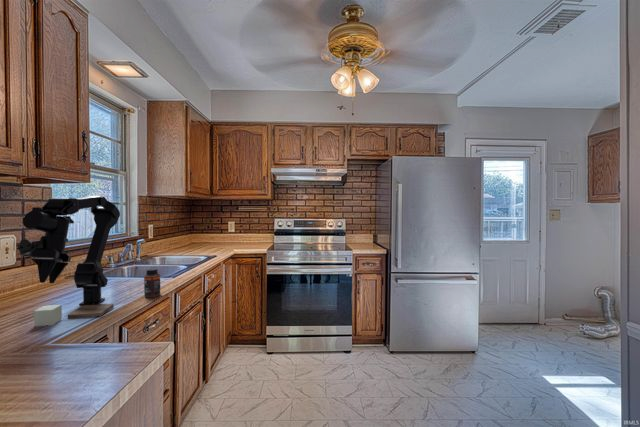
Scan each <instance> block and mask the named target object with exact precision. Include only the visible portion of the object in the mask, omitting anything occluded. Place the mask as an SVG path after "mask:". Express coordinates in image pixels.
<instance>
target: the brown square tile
mask: <svg viewBox="0 0 640 427" xmlns="http://www.w3.org/2000/svg"><path fill="white" fill-rule="evenodd" d="M112 307H113V308H115V306H114V303H103V304H102V303H99V304H92V305H80V307H78V308H76V309H75V310H73V311H72V312H70V313H68V314H67V319H79V318H78V317H84V318H93V317H92V316H101V317H102V315H103V314H104V313H105V314H107V313H108V312H109V311H110V310H112V309H113V308H112ZM111 308H112V309H111ZM109 309H110V310H109ZM108 310H109V311H108ZM107 311H108V312H107ZM105 314H104V315H105ZM104 315H103V316H104Z"/></svg>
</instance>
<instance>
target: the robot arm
mask: <svg viewBox="0 0 640 427" xmlns="http://www.w3.org/2000/svg"><path fill="white" fill-rule="evenodd" d="M47 200H48V201H47V202H46V203H45V204H44V205H43V206H41V207H36V206H35V207H33V206H32V208H31V210H30V211H28V212H27V213H26V214H24V217H23V218H22V225H23V227H25V229H29V230H33V231H34V230H35V231H39V232H44V235H42V236H41V237H40V239H39V240H38V241H31V240H29V239H27V238H25V239H22V240H20V242H19V244H18V245H17V247H16V249H17V251H18V252H19V255H20V256H23V257H29V258H30V260H31V261H32V262H34V263H35V264H36V266H37V271H38V279H39V280H38V281H39V283H41V284H43V283H44V284H45V282H47V279H48V280H49V284H54V283H55V282H56V280H57V279H58V278H59V277H60V275H61V274H62V273H63V271H64V270H65V268H67V266H68V265H69V263H71V259H72V256H71V255H70V254H68V253H67V250H65V249H66V244H67V243H69V238H68V233H69V228H70V224H74V223H75V221H74V219H72V217H71V216H69V215H74V214H77V213H78V212H79V211H80V210H83V209H90V213H91V214H92V215H93V221H94V223H95V229H94V232H93V235H92V238H91V242H90V245H89V248H88V250H87V253H86V258H85V260H84V261H83V262H78V263H77V265H76V268H75V271H74V273H73V274H74V276H73V280H74V283H75V284H74V285H75V287H76V289H82V301H81V302H80V303H78V305H79V306H83V305H98V304H101V303H102V302H104V301H105V300H106V298H105V297H102V288H105V287H107V285H108V278H107V277H106V276H105V275H104V268H103V266H102V263H101V262H102V258H103V256H104V253H105V248H106V245H107V242H108V239H109V236H110V231H111V229H113V227H114V226H115V225H117V224H118V221H119V219H120V217H121V212H120V210H119V208H118V207H117V205H115V204H114V203H112V201H111V202H110V201H109V200H108V199H107V198H106V197H105V196H103V195H91V196H87V197H78V198H75V197H50V198H49V199H47Z"/></svg>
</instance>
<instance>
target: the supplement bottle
mask: <svg viewBox="0 0 640 427" xmlns="http://www.w3.org/2000/svg"><path fill="white" fill-rule="evenodd" d="M143 282H144V284H143V288H144V290H143V291H144V293H143V294H144V297H145V298H146V299H147V298H149V299H151V298H156V297H159V296H160V295H161V274H160V273H159V272H158V268H156V267H155V268H153V267H151V268H147V269H146V274H145V275H144V276H143Z"/></svg>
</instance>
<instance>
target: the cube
mask: <svg viewBox="0 0 640 427" xmlns="http://www.w3.org/2000/svg"><path fill="white" fill-rule="evenodd" d="M62 305H63V304H54V305H43V306H40V307H39V308H36V309H35V310H33V320H34V321H33V322H34V324H33V325H34V327H44V326H46V325H48V326H54V325H56V324H57V323H58V321H59V322H60V321H62V320H61V319H63V311H62V309H63V308H62ZM56 322H57V323H56ZM53 324H54V325H53ZM46 327H47V326H46Z"/></svg>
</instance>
